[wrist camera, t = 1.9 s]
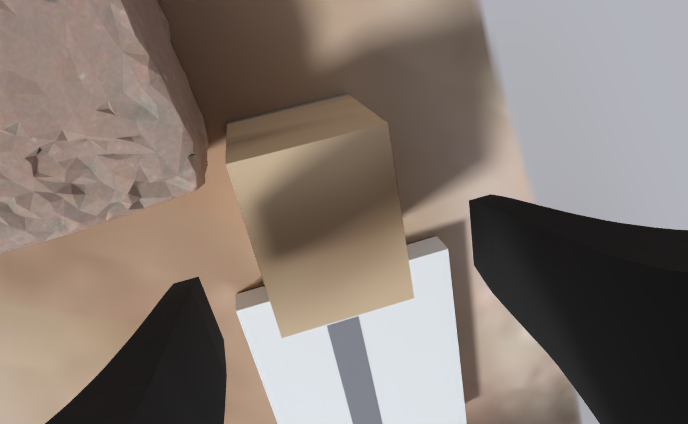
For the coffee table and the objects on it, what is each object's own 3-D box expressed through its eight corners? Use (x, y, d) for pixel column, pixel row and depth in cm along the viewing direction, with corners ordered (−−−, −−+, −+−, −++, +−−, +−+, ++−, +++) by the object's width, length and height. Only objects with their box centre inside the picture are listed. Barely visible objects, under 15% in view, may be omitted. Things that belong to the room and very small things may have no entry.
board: (457, 408, 25) (467, 426, 24) (297, 462, 24) (300, 484, 23) (436, 236, 20) (448, 248, 19) (235, 294, 19) (236, 311, 18)
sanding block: (372, 232, 20) (414, 297, 15) (270, 261, 19) (281, 338, 15) (346, 92, 17) (388, 123, 13) (227, 121, 17) (225, 164, 12)
